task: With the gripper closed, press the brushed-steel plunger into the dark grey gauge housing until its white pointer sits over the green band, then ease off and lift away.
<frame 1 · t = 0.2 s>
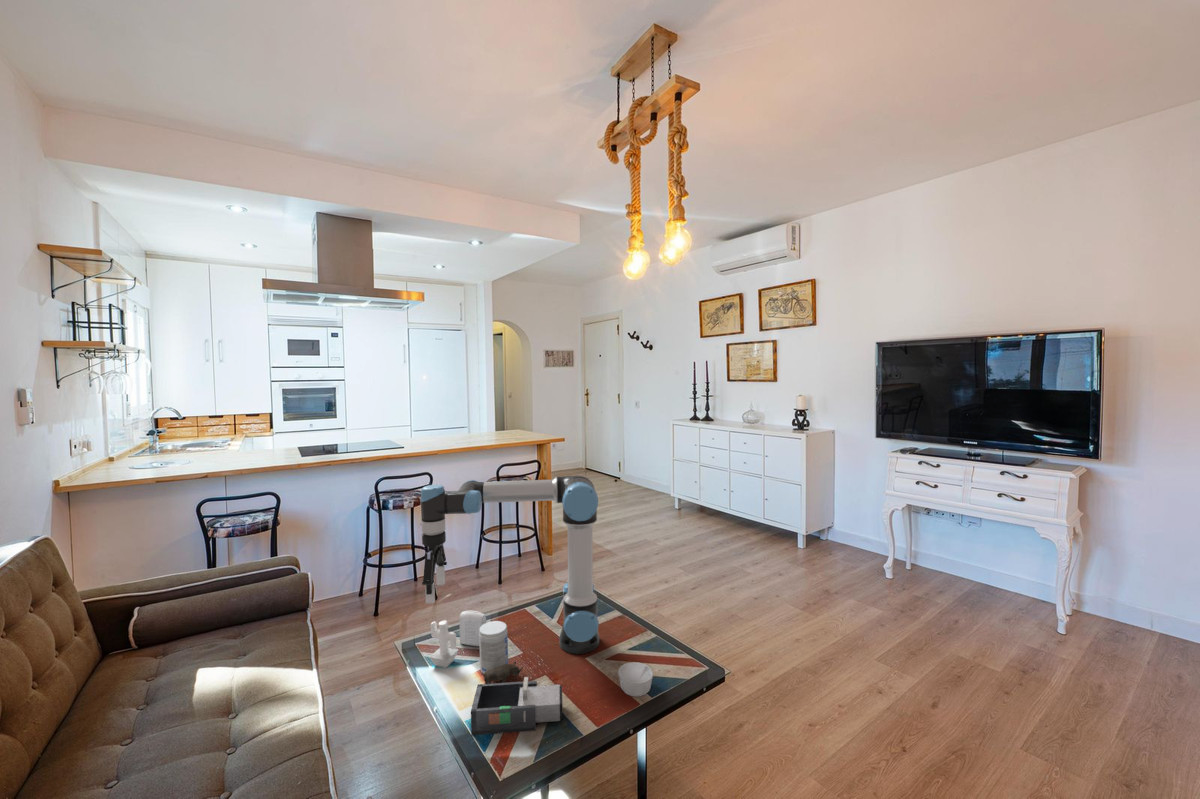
hand: (435, 593, 166), 28 cm above the table, fingers open, 13 cm apart
gauge housing: (505, 718, 145), on the table
figurine: (444, 663, 173), on the table
plunger: (540, 696, 146), point 6 cm above the table, slide at 0.0 cm
supplement tub: (494, 669, 170), on the table
ramekin: (635, 688, 159), on the table
rhino figurine: (503, 683, 162), on the table
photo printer: (473, 643, 186), on the table
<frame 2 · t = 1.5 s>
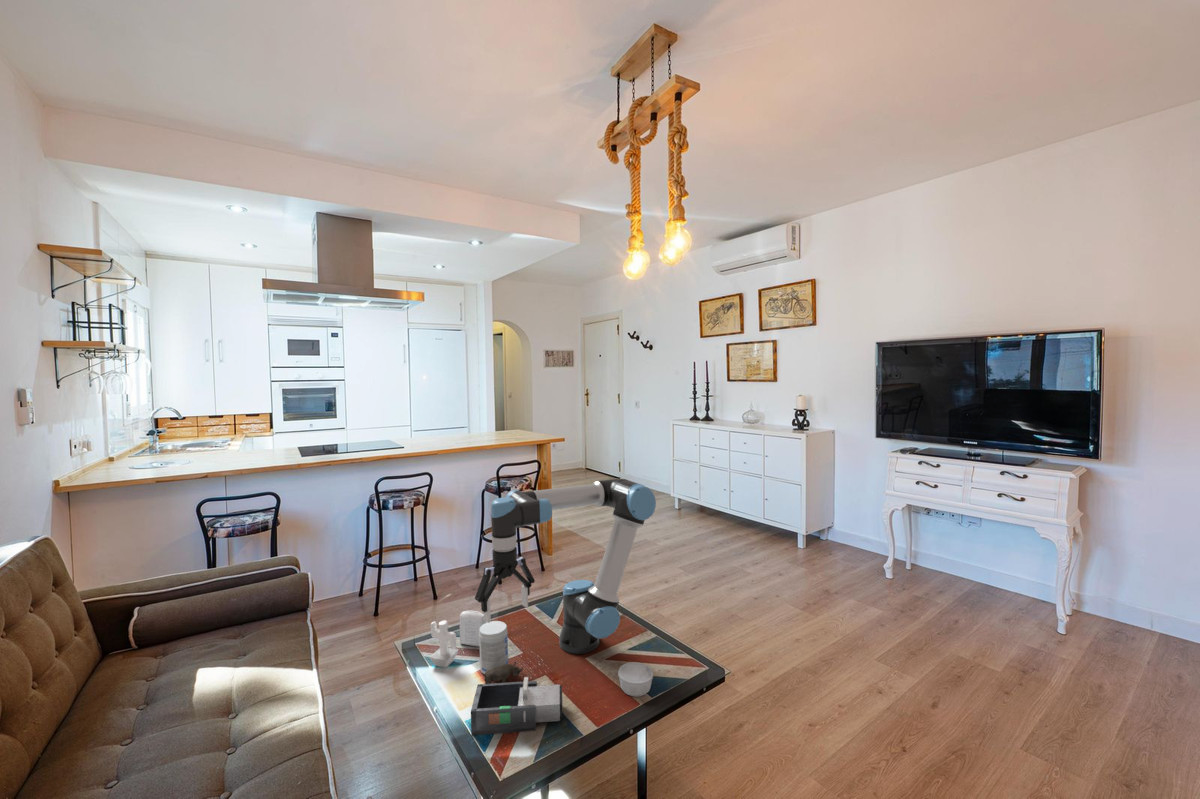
hand: (506, 613, 156), 26 cm above the table, fingers open, 13 cm apart
nothing on the table moved.
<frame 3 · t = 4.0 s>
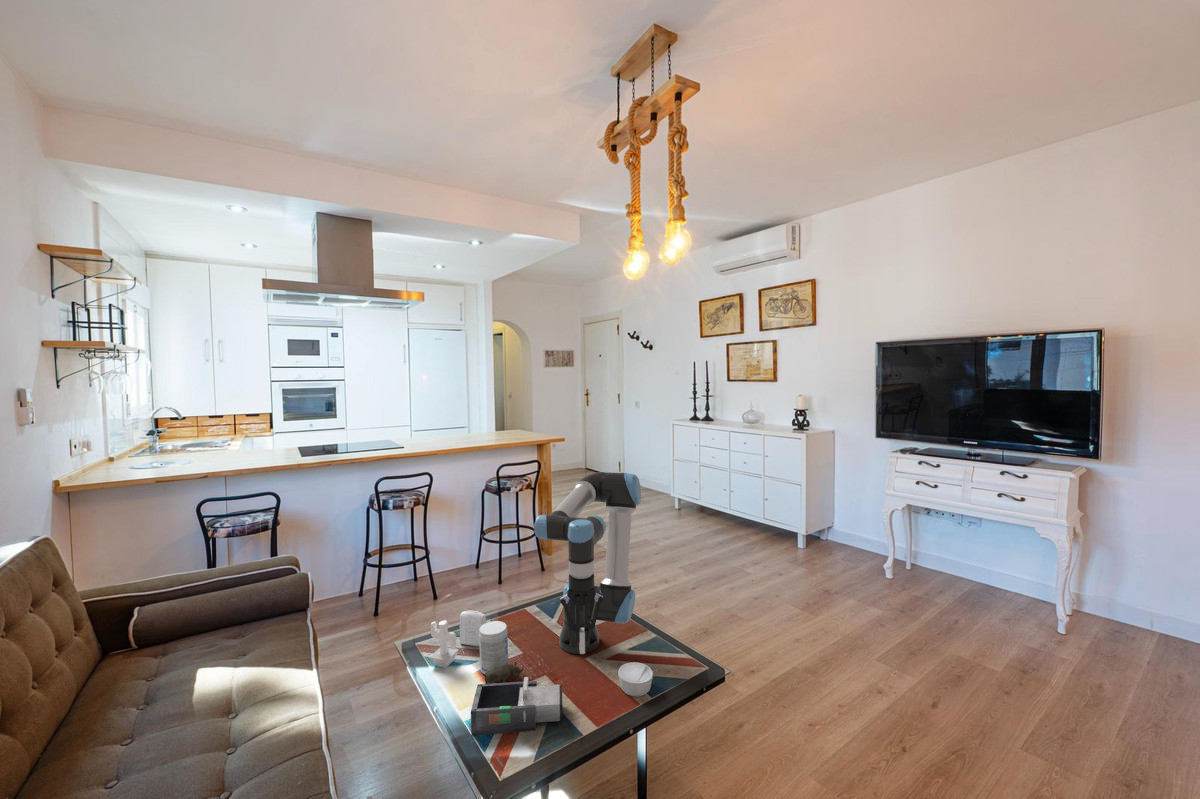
hand: (582, 651, 146), 19 cm above the table, fingers closed
nothing on the table moved.
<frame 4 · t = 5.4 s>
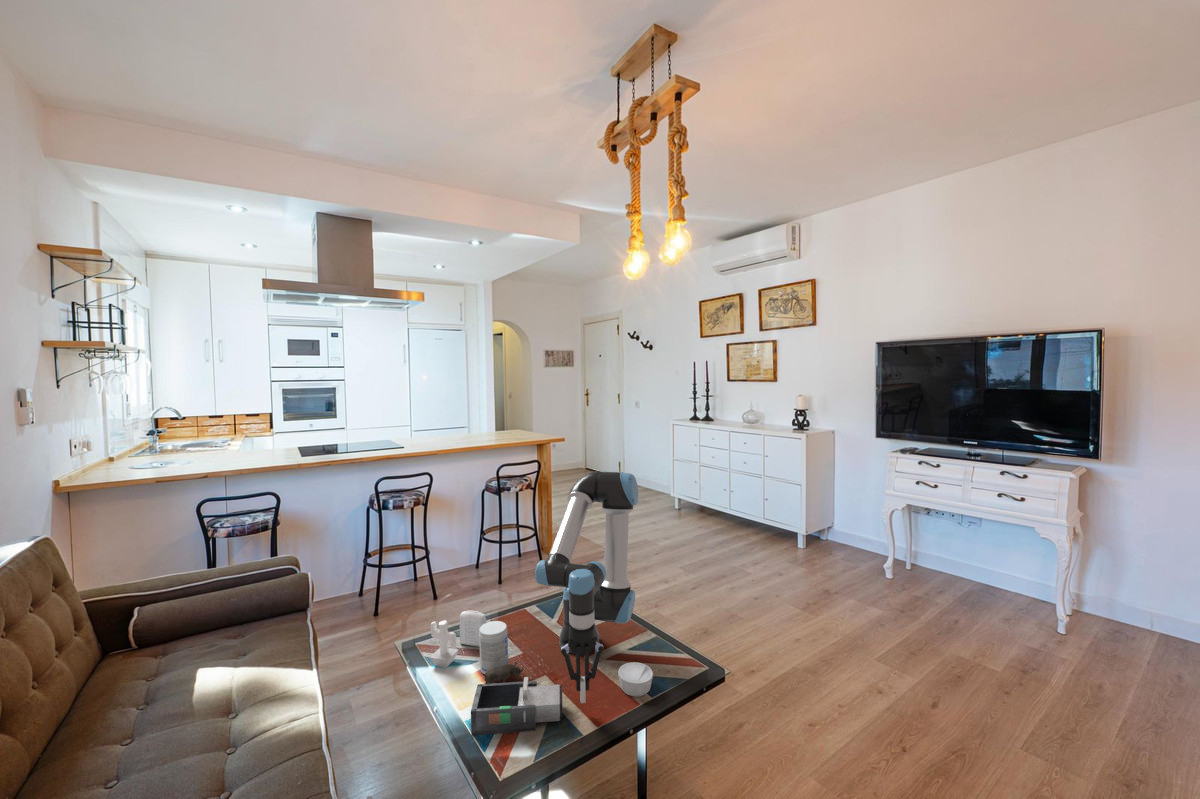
hand: (582, 700, 147), 4 cm above the table, fingers closed
nothing on the table moved.
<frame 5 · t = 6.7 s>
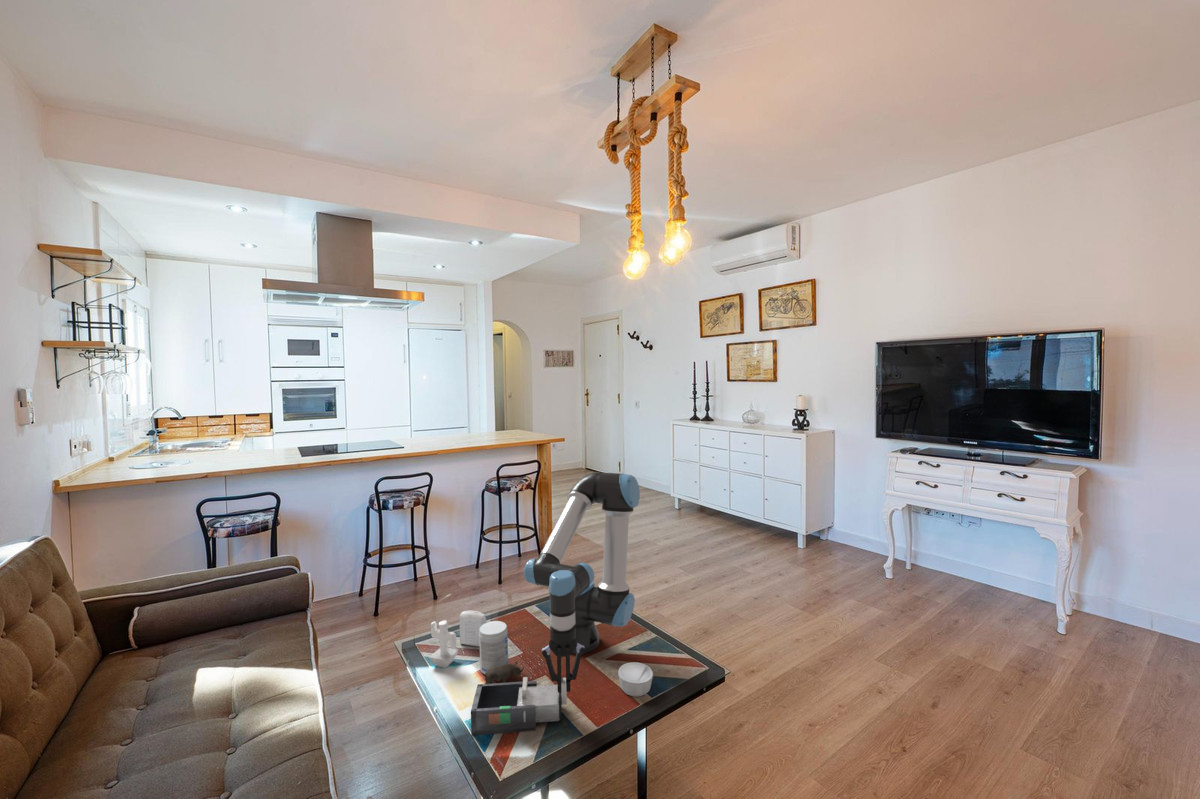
hand: (564, 701, 147), 4 cm above the table, fingers closed
plunger: (539, 696, 146), point 6 cm above the table, slide at 0.2 cm, touching gripper
everything else where it was.
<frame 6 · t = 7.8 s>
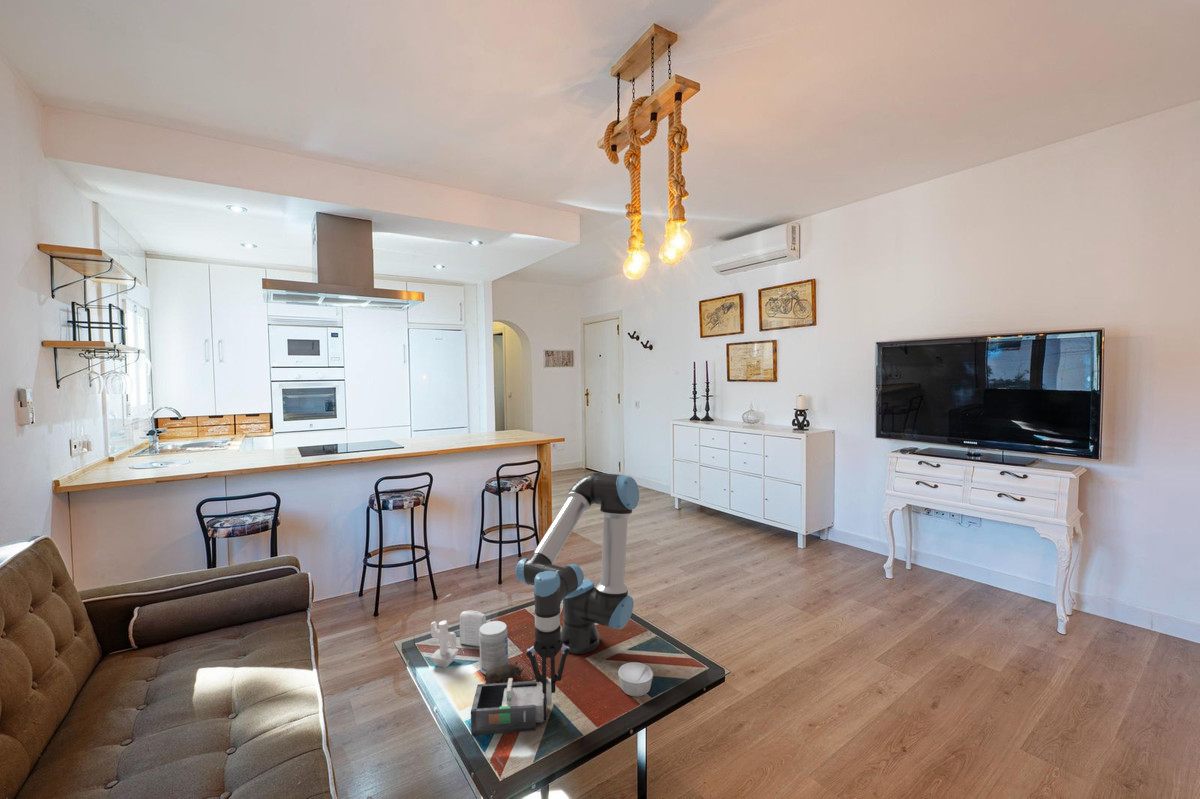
hand: (549, 702, 146), 4 cm above the table, fingers closed
plunger: (524, 697, 146), point 6 cm above the table, slide at 4.7 cm, touching gripper
everything else where it was.
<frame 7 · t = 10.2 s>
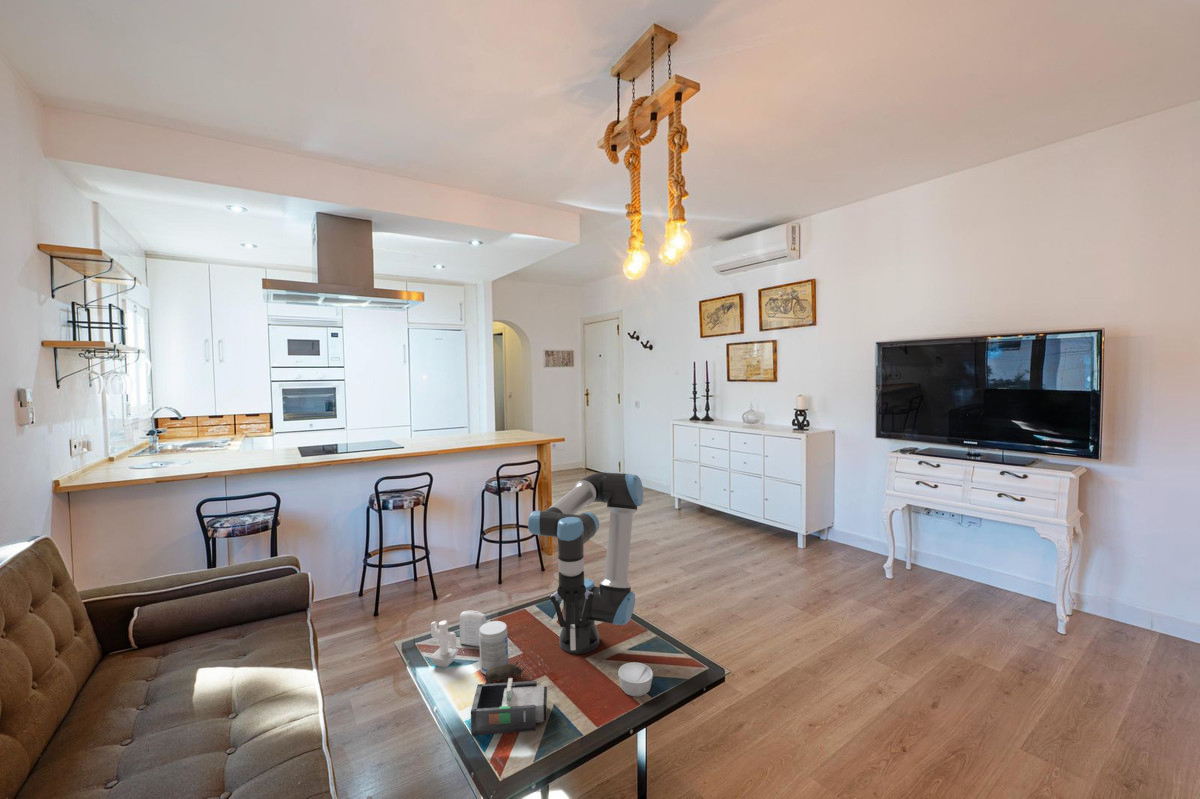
hand: (573, 647, 146), 20 cm above the table, fingers closed
plunger: (524, 697, 146), point 6 cm above the table, slide at 4.7 cm
everything else where it was.
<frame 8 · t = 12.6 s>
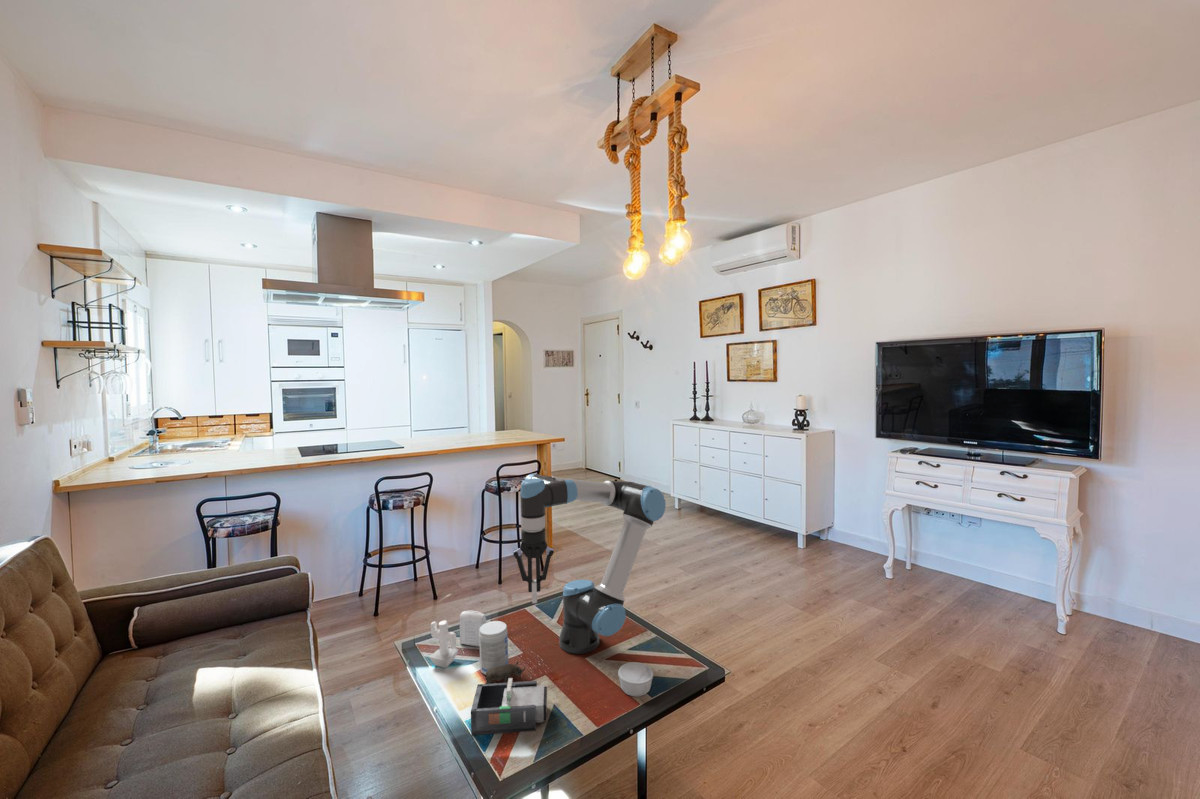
hand: (534, 601, 156), 29 cm above the table, fingers closed
nothing on the table moved.
at the end: plunger slide at 4.7 cm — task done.
